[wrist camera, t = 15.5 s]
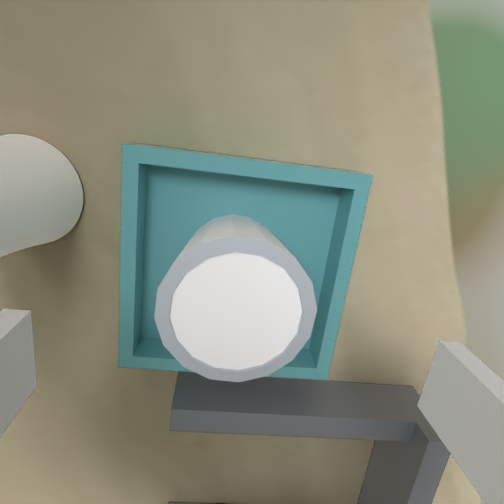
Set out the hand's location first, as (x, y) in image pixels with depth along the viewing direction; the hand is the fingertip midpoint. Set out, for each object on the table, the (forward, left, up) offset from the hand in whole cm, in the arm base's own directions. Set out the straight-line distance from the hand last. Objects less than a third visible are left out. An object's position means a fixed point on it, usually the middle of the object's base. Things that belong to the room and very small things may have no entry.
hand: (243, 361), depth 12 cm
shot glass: (0, 0, -11) cm, 11 cm away
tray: (0, 0, -11) cm, 11 cm away
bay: (+15, +6, -11) cm, 20 cm away
